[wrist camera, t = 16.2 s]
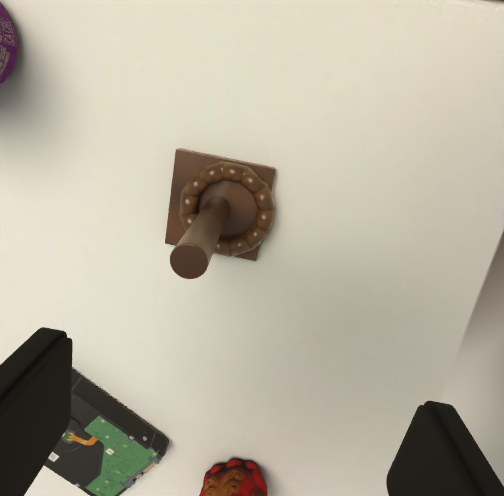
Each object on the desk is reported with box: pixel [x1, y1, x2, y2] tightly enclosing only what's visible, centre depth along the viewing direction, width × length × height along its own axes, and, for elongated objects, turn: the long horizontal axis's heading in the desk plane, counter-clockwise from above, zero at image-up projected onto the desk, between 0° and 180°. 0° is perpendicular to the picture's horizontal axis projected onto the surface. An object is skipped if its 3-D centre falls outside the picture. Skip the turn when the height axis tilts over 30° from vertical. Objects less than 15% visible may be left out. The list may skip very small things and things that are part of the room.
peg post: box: [165, 148, 275, 279], centre depth 25 cm, size 8×8×13 cm
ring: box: [179, 161, 275, 257], centre depth 29 cm, size 8×8×1 cm
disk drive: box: [44, 370, 169, 496], centre depth 39 cm, size 10×3×15 cm
